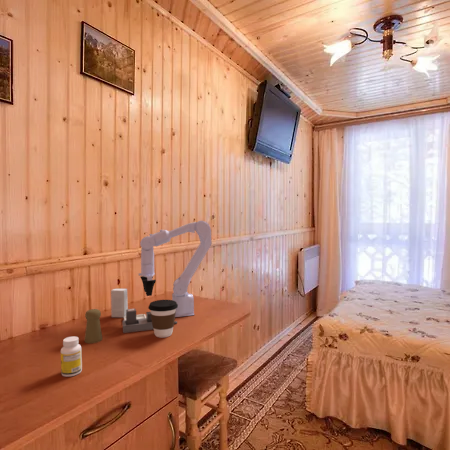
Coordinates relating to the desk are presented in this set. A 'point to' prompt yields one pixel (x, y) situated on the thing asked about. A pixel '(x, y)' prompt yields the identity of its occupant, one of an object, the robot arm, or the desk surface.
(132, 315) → the plug
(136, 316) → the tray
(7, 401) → the desk surface
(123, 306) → the skincare box
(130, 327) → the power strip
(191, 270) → the robot arm
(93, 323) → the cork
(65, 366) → the supplement bottle
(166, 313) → the coffee cup
